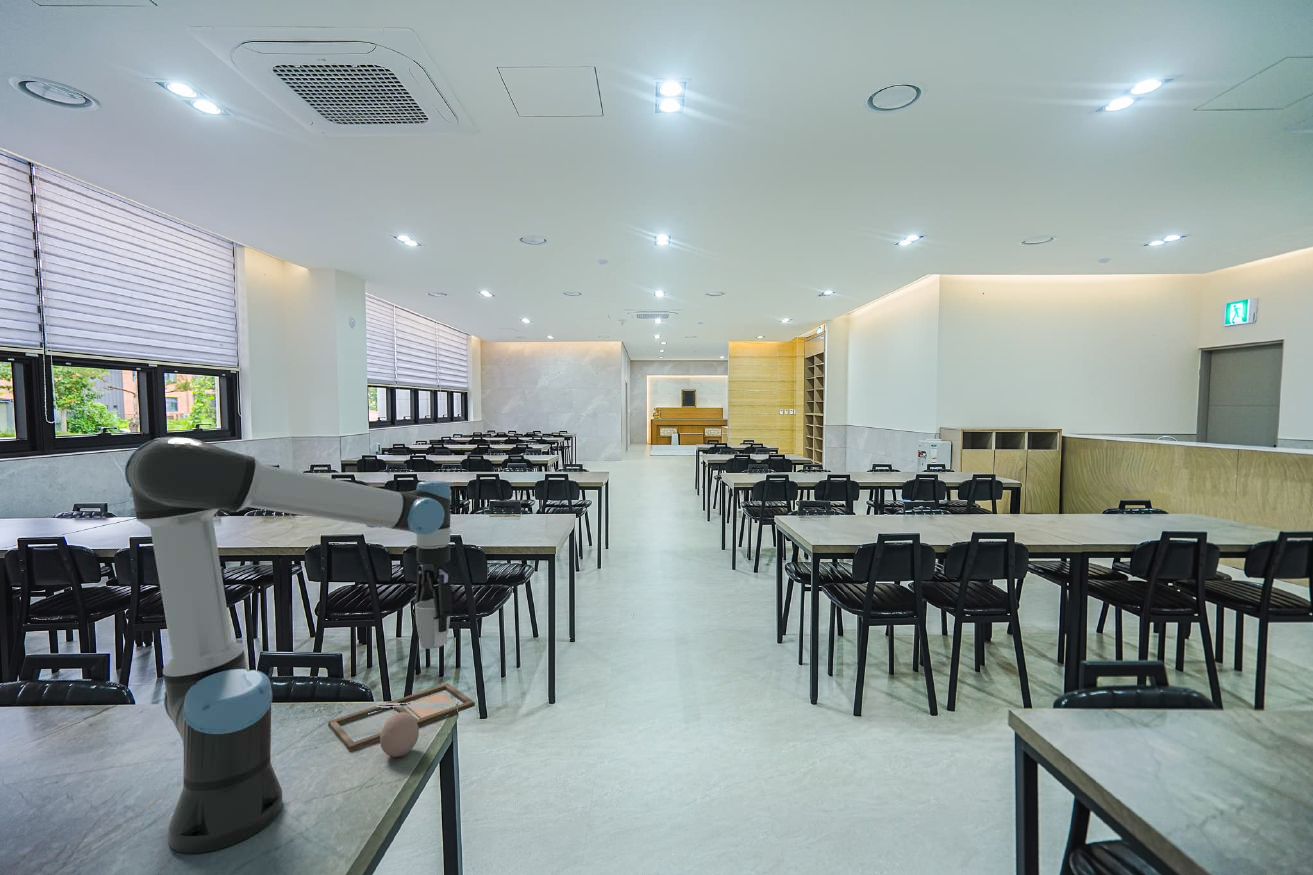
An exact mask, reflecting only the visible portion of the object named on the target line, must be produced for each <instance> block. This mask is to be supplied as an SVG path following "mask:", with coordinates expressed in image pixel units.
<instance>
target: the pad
mask: <svg viewBox="0 0 1313 875" xmlns="http://www.w3.org/2000/svg"><path fill="white" fill-rule="evenodd" d="M420 702H428V703H440V702H444V703H451V702H455V701H454V700H453V699H451V698H450V697H449V696H447V695H446V694H445V693H443V692H439V693H436V694H432V695H429V696H426V697H423V698H422V699H421V698H420V699H417V700H414V701H411V703H420ZM452 707H454V706H452ZM452 707H450V708H452ZM417 708H421V707H407V709H409V710H410V711H411V712H412V713H413V712H414V713H413V714H415V715H416V716H417V717H418V719H421V718H424V717H426V716H429V715H432V714H435V713H438V712H441V711H443V710H446V709H422V708H421V709H417ZM424 708H425V707H424ZM430 708H431V707H430ZM445 708H449V707H445Z"/></svg>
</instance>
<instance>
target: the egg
mask: <svg viewBox="0 0 1313 875" xmlns="http://www.w3.org/2000/svg"><path fill="white" fill-rule="evenodd" d="M419 732H420V731H419V726H418V725H417V722H416V721H415V719H414V718H413V717H412V716H411V715H410V714H408V713H405V712H401V713H397V712H396V713H394V714H393V715H392V716H390V717H389V718H388V719H387V720H386V722H385V723H384V726H383V727H382V729H381V731H380V733H381V735H380V741H379V743H380V748H381V750H382V751H383V753H385V754H386V755H387V756H389V757H392V758H399V757H402V756H405V755H407V754H409V753H410V752H411V751H412V750H413V749H414V747H415V746H416V744H417V742H418V739H419V735H420V733H419Z"/></svg>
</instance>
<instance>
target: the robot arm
mask: <svg viewBox="0 0 1313 875" xmlns="http://www.w3.org/2000/svg"><path fill="white" fill-rule="evenodd" d="M124 476H125V481H126V483H127V484H128V487H129V488H130V489H131V495H132V500H133V505H134V511H135V518H136V521H138V522H140V523H142V524H143V525H145V526H147V527H149V529H150V534H151V539H152V540H151V541H152V545H153V546H152V548H153V553H154V557H155V558H154V559H155V564H156V570H157V574H158V581H159V586H160V594H161V599H162V604H163V605H162V606H163V609H164V610H163V611H164V616H165V622H166V627H167V628H166V630H167V635H168V640H169V647H170V654H171V659H170V660H169V661H168V662H167V663H166V665H164V667H163V669H162V676H163V682H164V686H165V688H164V689H165V692H164V699H163V705H164V708H165V712H166V713H167V714H166V715H167V716H168V717H169V719H170V720H171V721H172V723H173V724H174V726H175V729H176V730H177V733H179V736H180V738H181V740H182V746H183V782H182V784H183V788H182V790H181V793H180V796H179V798H178V801H177V803H176V806H175V808H174V811H173V814H172V816H171V819H170V821H169V824H168V825H169V826H168V845H169V847H170V848H171V849H172V850H174V851H175V852H177V853H183V854H201V853H208V852H212V851H214V852H215V851H217V850H221V849H224V848H227V847H231V846H232V845H236V844H238V843H240V842H242V841H244V840H246V839H248V838H250V837H253V836H254V835H256V834H257V833H259V832H260V831H262V830H263V829H265V828H266V827H267V826H269V825H270V824H271V823H272V822H273V821H275V819H276V818H277V817H278V815H279V814H280V812H281V811H282V807H283V789H282V786H281V785H280V782H279V779H278V777H277V774H276V772H275V770H274V768H273V765H272V763H271V762H272V761H271V758H272V757H271V753H272V752H271V751H272V750H271V746H272V744H271V743H272V702H273V690H272V687H271V685H272V684H271V681H270V679H269V676H268V675H267V674H265V673H264V672H262V671H259V670H257V669H251V670H249V669H248V668H247V660H246V655H245V648H244V646H243V644H241V643H239V642H236V641H233V638H232V633H231V632H232V631H231V625H230V620H229V612H228V606H227V600H226V595H225V594H226V593H225V587H224V583H223V582H224V581H223V575H222V568H221V561H220V556H219V555H220V554H219V549H218V548H219V547H218V542H217V537H216V531H215V524H214V516H215V514H216V513H217V512H218V511H219V510H221V511H222V510H224V511H231V512H236V513H237V512H239V511H242V510H243V509H246V508H253V509H258V510H266V511H273V512H279V513H286V514H292V515H293V514H294V515H300V516H306V517H313V518H318V519H326V520H333V521H339V522H344V523H346V522H347V523H352V524H359V525H364V526H366V527H367V528H379V529H382V528H385V529H386V528H387V529H391V530H398V531H404V532H411V533H413V534H415V535H416V541H415V542H416V543H415V544H416V545H417V548H416V562H417V563H418V564H420V565H417V566H416V575H417V576H416V585H415V586H416V587H415V588H416V589H415V599H414V600H415V604H417V603H418V602H421V601H428V600H430V599H434V604H435V610H436V617H434V620H435V622H434V646H435V647H437V646H440V645H443V646H444V645H446V644H448V634H447V617H448V616H450V617H451V616H453V603H452V600H453V599H452V586H451V585H452V584H451V583H452V582H451V581H452V573H450V572H447V573H446V571H445V564H446V563H447V562H450V560H451V546H450V543H451V533H452V530H451V502H452V494H451V486H450V483H449V482H448V481H444V480H427V481H425V480H424V481H420V482H418V483H417V485H416V489H415V490H412V491H411V490H410V491H395V490H394V491H393V490H391V489H385V488H380V487H374V486H369V485H365V484H362V483H361V484H359V483H357V482H350V481H346V480H340V479H335V478H332V477H331V478H330V477H325V476H321V475H316V474H310V473H305V472H300V471H296V470H291V469H287V468H282V467H276V466H271V465H267V464H262V463H261V462H260V461H259V460H258V458H257V457H256V456H253V455H247V454H242V453H239V452H235V451H233V450H228V449H225V448H223V447H219V446H216V445H214V444H211V443H209V442H205V441H203V440H200V439H197V438H196V439H195V438H192V437H191V438H190V437H182V436H164V437H158V438H154V439H151V440H149V441H147V442H145V443H144V444H142V445H140V446H139V447H137V448H136V449H135V450H134V451H133V453H131V454H130V456H129V457H128V459H127V461H126V464H125V467H124ZM415 604H414V605H415Z"/></svg>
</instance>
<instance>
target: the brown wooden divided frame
mask: <svg viewBox="0 0 1313 875" xmlns="http://www.w3.org/2000/svg"><path fill="white" fill-rule="evenodd" d="M443 691H446V692H448V693H449V694H450V695H452V696H453V697H454V698H456V699H457V700H459V701H460V702H461V704H458V712H457V708H456V707H452V708H449V709H446V710H443V711H441V712H438V713H435V714H432V715H429V716H426V717H424V718H421V719H420V718H416V717H415V716H414V715H413V714H412V713H411V712H410V711H408V710H407V708H405V707H403V706H402V704H401V705H381V704H378V705H379V706H402V707H394V708H392V709H393V710H394V711H395V712H396V711H397V712H398V713H401V712H405V713H408V714H410V715H411V716H412V717H413V718H414V719H415V721H416V722H417V725H418V727H422V726H425V725H427V724H430V723H431V722H435V721H437V720H441V719H443V718H446V717H448V716H447V715H449V716H451V715H455V714H457V713H459V712H462V711H465V710H468V709H471V708H474V707H475V705H476V702H475V701H474V700H473V699H471V698H470V697H468V696H467V695H465V694H464V693H462V692H461V691H459V690H458V689H457V688H455V687H454V686H452V685H451V684H449V683H444V684H440V685H438V686H435V687H432V688H429V689H428V688H427V689H425V690H422V691H420V692H415V693H413V694H409V695H406V696H405V697H401V698H397V699H395V700H391V701H388V702H386V703H404V704H408V703H411V702H414V701H417V700H420V699H421V698H422V699H423V698H426V697H430V696H433V695H436V694H439V693H442V692H443ZM376 706H377V705H375V706H371V707H369V708H365V709H363V710H359V711H357V712H353V713H350V714H346V715H343V716H341V717H337V718H334V719H331V720H328V721H327V724H328V727H329V728H330V729H332V730H331V731H332V732H333V733H334V734H335V736H336V737H337V738H338V740H339V741H341V743H342V744H343V745H344V747H345V748H346V749H347V750H348V751H349V752H352V751H355V750H357V749H360V748H364V747H366V746H368V745H371V744H373V743H374V744H375V743H377V742H380V735H381V732H378V733H376V734H373V735H370V736H368V737H365V738H362V739H359V740H356V741H354V740H353V739H352V738H351V737H350V735H348V734H347V732H346V731H345V730H344V729H343V727H342V726H341V725H343V724H345V723H349V722H352V721H356V720H358V719H360V718H363V717H366V715H367V716H369V715H368V713H371V712H374V711H379V710H383V711H385V710H384V709H386V710H388V709H390V708H381V707H376ZM397 712H396V713H397ZM445 716H446V717H445Z"/></svg>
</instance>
